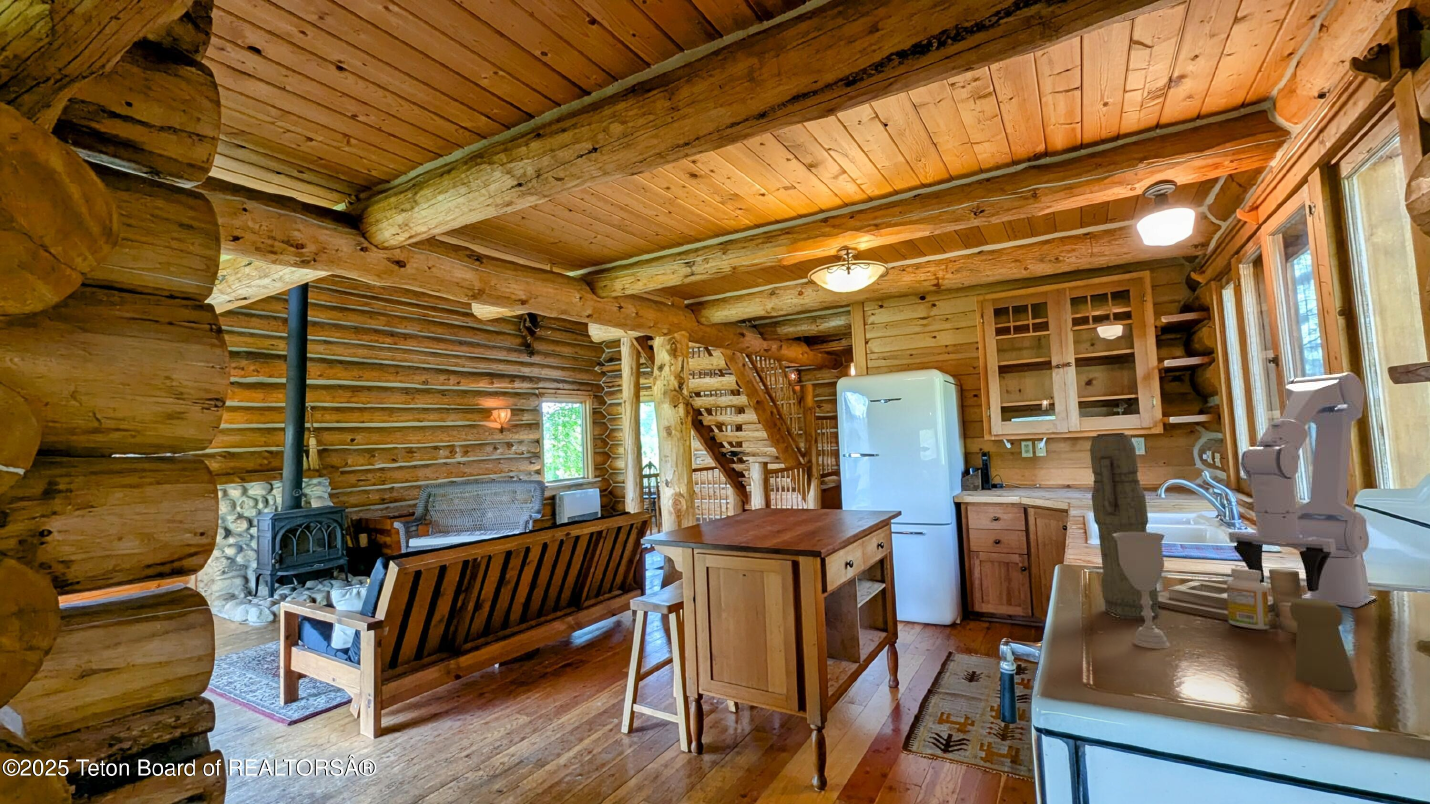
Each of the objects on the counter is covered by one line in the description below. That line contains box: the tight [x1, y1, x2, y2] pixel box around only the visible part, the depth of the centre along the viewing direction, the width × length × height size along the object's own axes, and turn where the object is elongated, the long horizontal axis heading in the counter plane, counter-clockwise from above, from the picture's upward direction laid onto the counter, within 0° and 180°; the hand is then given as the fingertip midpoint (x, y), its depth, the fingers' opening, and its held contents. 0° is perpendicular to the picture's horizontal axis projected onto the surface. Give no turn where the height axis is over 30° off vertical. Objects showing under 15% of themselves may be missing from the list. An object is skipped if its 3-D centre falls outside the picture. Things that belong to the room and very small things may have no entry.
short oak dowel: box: [1278, 603, 1297, 634], centre depth 102 cm, size 4×4×4 cm
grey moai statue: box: [1089, 432, 1160, 621], centre depth 117 cm, size 9×12×35 cm
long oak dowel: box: [1268, 568, 1303, 617], centre depth 109 cm, size 4×4×8 cm
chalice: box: [1113, 531, 1171, 650], centre depth 101 cm, size 7×7×18 cm
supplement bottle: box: [1226, 567, 1270, 631], centre depth 105 cm, size 5×5×10 cm
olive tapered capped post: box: [1290, 598, 1358, 692], centre depth 82 cm, size 6×6×11 cm
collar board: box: [1158, 580, 1274, 621], centre depth 118 cm, size 17×16×3 cm
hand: (1285, 586), depth 109 cm, fingers open, 7 cm apart
